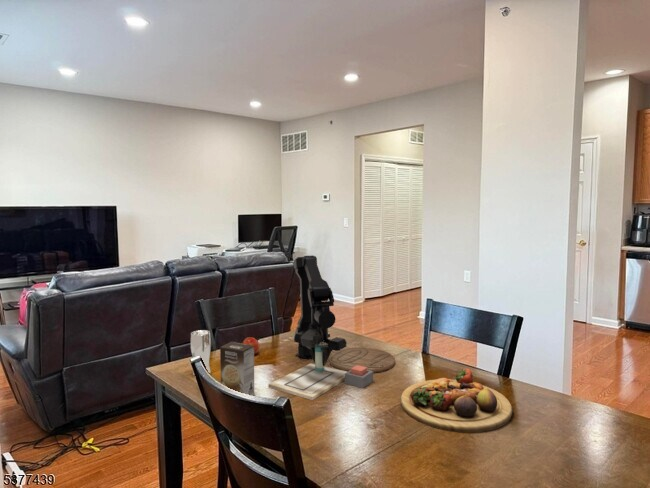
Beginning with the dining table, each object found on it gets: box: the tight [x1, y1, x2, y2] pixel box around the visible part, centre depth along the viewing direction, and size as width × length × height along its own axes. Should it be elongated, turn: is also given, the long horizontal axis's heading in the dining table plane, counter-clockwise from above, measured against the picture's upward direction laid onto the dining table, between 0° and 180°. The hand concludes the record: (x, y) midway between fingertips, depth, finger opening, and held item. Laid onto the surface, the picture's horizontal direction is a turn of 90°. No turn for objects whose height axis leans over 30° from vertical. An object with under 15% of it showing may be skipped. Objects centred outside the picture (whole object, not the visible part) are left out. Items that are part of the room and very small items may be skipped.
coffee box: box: [219, 341, 255, 396], centre depth 142 cm, size 9×6×16 cm
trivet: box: [328, 347, 396, 375], centre depth 172 cm, size 25×25×2 cm
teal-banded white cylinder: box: [314, 343, 325, 372], centre depth 157 cm, size 3×3×9 cm
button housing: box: [344, 370, 374, 389], centre depth 152 cm, size 7×7×4 cm
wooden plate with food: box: [399, 368, 513, 434], centre depth 134 cm, size 32×32×8 cm
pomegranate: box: [242, 336, 261, 355], centre depth 181 cm, size 7×7×10 cm
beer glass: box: [190, 329, 212, 376], centre depth 160 cm, size 7×7×15 cm
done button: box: [351, 365, 367, 376], centre depth 152 cm, size 4×4×3 cm
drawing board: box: [267, 362, 347, 401], centre depth 153 cm, size 24×18×1 cm
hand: (319, 364), depth 157 cm, fingers closed on teal-banded white cylinder, 3 cm apart
